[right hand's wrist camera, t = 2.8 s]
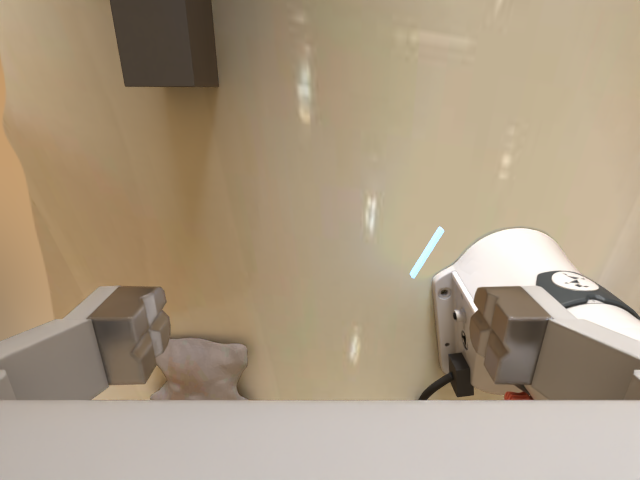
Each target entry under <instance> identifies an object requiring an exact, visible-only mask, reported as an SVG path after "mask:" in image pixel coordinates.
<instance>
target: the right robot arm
mask: <svg viewBox="0 0 640 480" xmlns="http://www.w3.org/2000/svg"><path fill="white" fill-rule="evenodd" d="M443 232H444V230H443V229H442V228H441V227H439V228H438V229H437V231H436V233H435V234H434V236H433V237H432V239H431V241H430V242H429V244H428V245H427V247H426V249H425V250H424V252H423V253H422V255H421V257H420V258H419V260H418V261H417V263H416V265H415V266H414V268H413V269H412V271H411V273H410V275H411V277H412V278H415V276H416V275H417V273H418V271H419V270H420V268H421V267H422V265H423V264H424V262H425V260H426V259H427V257H428V256H429V254H430V252H431V251H432V249H433V248H434V246H435V245H436V243H437V241H438V240H439V238H440V237H441V235H442V234H443ZM442 290H446V291H445V292H444V293H441V291H442ZM432 291H433V301H434V312H435V322H436V333H437V343H438V354H439V363H440V368H441V369H442V371H443V373H445V374H446V375H445V376H443V377H442V378H440V379H438V380H437V381H435V382H434V383H433V384H431V385H430V386H429V387H428V388H427V389H426V390H425V391H424V392H423V393H422V395H421V396H420V398H419V400H92V399H93V398H94V397H96V396H97V395H98V394H100V393H101V392H103V391H104V390H105V389H107V388H108V387H109V385H129V384H145V383H146V382H147V380H148V378H149V377H150V375H151V373H152V372H153V370H154V368H155V367H156V359H155V358H156V357H158V356H159V355H161V354H163V353H164V351H165V349H166V348H167V346H168V343H169V338H170V332H171V325H170V319H169V316H168V315H167V314H166V313H165V312H164V311H163V310H162V309H163V307H164V306H165V304H166V302H167V301H166V297H165V292H164V290H163V289H162V288H161V287H145V286H100V287H98V288H97V289H96V290H95V291H93V292H92V293H91V294H90V295H89V296H88V297H87V298H86V299H84V300H83V301H82V302H81V303H80V304H79V305H78V306H77V307H75V308H74V309H73V310H72V311H71V312H70V313H69V314H68V315H66V316H65V317H64V318H63V319H55V320H52V321H50V322H47V323H45V324H42V325H40V326H37V327H35V328H32V329H30V330H27V331H25V332H22V333H20V334H17V335H15V336H12V337H10V338H7V339H5V340H2V341H0V480H640V317H639V316H638V314H637V313H636V312H635V311H634V310H633V309H631V308H630V307H629V306H628V305H626V304H625V303H624V302H622V301H621V300H620V299H618V298H617V297H616V296H614V295H613V294H612V293H610V292H609V291H608V290H606V289H605V288H603V287H602V286H600V285H599V284H597V283H595V282H594V281H592V280H590V279H588V278H587V277H585V276H583V275H582V274H581V273H580V272H579V270H578V269H577V268H576V267H575V266H574V265H573V264H572V263H571V261H570V260H569V259H568V258H567V256H566V255H565V253H564V252H563V250H562V249H561V247H560V246H559V245H558V244H557V242H556V241H554V240H553V239H552V238H551V237H549V236H548V235H546V234H544V233H542V232H539V231H536V230H532V229H525V228H514V229H507V230H502V231H499V232H496V233H493V234H491V235H488V236H486V237H484V238H483V239H481V240H479V241H478V242H476V243H475V244H474V245H472V246H471V247H470V248H469V249H468V250H467V251H466V252H465V253H464V254H463V255H462V256H461V258H460V259H459V260H458V261H457V262H456V263H455V264H454V265H452V266H450V267H448V268H446V269H445V270H443V271H441V272H439V273H438V274H437V275H436V276H435V277H434V278H433V280H432ZM449 382H451V385H452V387H453V389H454V391H455V394H456V396H457V397H463V396H471V395H474V387H475V388H476V389H479V390H481V391H484V392H487V393H491V394H498V395H505V397H504V400H427V399H428V398H429V397H430V396H431V395H432V394H433V393H434V392H436V391H437V390H438V389H440V388H441V387H443V386H444V385H446V384H448V383H449ZM529 395H530V396H529Z"/></svg>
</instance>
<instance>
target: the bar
mask: <svg viewBox="0 0 640 480" xmlns="http://www.w3.org/2000/svg"><path fill="white" fill-rule="evenodd" d="M110 4H111V10H112V15H113V21H114V27H115V32H116V38H117V44H118V49H119V55H120V61H121V66H122V72H123V78H124V83H125V86H126V87H219V82H218V71H217V60H216V49H215V38H214V27H213V16H212V5H211V0H110Z"/></svg>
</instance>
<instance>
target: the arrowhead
mask: <svg viewBox="0 0 640 480" xmlns="http://www.w3.org/2000/svg"><path fill="white" fill-rule="evenodd" d="M247 353H248V350H247V347H246V346H245V345H243V344H221V343H216V342H212V341H209V340H205V339H200V338H181V339H169V343H168V346H167V348H166V349H165V351H164V353H163V354H161V355H159V356H158V357H156V358H155V359H156V364H157V366H158V367H159V368H160V369H161V370H162V372H163V373H164V375H165V377H166V379H167V381H166V383H165V384H164V385H163V386H162V387H161V389H160V390H159V391H157V392H155V393H154V394H152V395H151V397H150V400H248V399H247V398H244V397H242V396H241V395H240V394H239V393H238V391H237V383H238V380H239V378H240V376H241V374H242V372H243V371H244V369H245V368H246V367H247V364H248V358H247Z"/></svg>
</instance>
